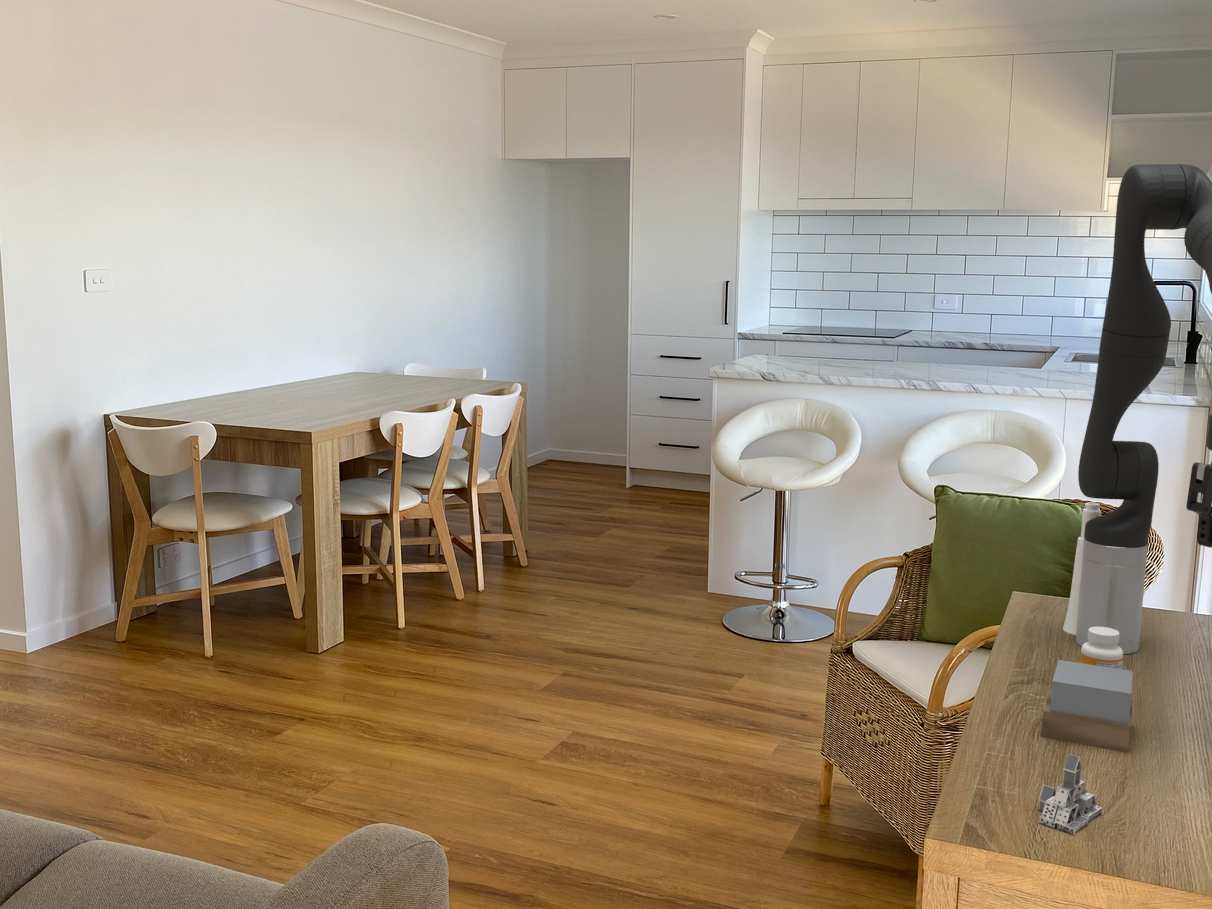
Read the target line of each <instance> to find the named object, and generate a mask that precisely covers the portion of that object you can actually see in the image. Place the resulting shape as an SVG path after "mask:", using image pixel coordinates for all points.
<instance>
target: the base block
mask: <svg viewBox="0 0 1212 909" xmlns="http://www.w3.org/2000/svg"><path fill="white" fill-rule="evenodd" d="M1051 694H1052V685H1051V686H1050V688H1049V690H1048V695H1047V697H1046V701H1045V705H1044V708H1043V712H1042V724H1041V725H1042V726H1041V727H1042V728H1041V737H1044V738H1048V739H1054V740H1060V741H1065V742H1071V743H1074V744H1075V743H1076V744H1081V745H1086V746H1090V747H1091V746H1092V747H1096V748H1102V749H1107V750H1114V751H1117V752H1123V753H1124V752H1125V753H1129V748H1130V738H1131V725H1132V714H1133V701H1134V699H1133V698H1131V703H1130V714H1129V725H1128V724H1122V723H1116V722H1110V721H1104V720H1098V719H1092V718H1086V717H1081V716H1075V715H1069V714H1063V713H1057V712H1051V711H1050V707H1051Z"/></svg>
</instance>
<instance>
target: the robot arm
mask: <svg viewBox="0 0 1212 909" xmlns="http://www.w3.org/2000/svg"><path fill="white" fill-rule="evenodd" d="M1118 188H1119V189H1118V193H1117V201H1116V211H1115V225H1114V226H1115V227H1114V239H1113V256H1112V266H1111V273H1110V274H1111V276H1110V282H1109V289H1108V294H1107V299H1106V300H1107V301H1106V306H1105V312H1104V317H1103V322H1102V329H1101V334H1100V335H1101V336H1100V342H1099V349H1098V358H1097V359H1098V360H1097V368H1096V376H1095V383H1094V391H1093V397H1092V403H1091V408H1090V413H1089V415H1088V421H1087V425H1086V429H1085V433H1084V438H1083V443H1082V446H1081V447H1082V448H1081V451H1080V458H1079V464H1078V471H1077V472H1078V474H1077V475H1078V477H1077V479H1078V486H1079V489H1080V490H1079V491H1080V492H1081V493H1082V494H1083V496H1085V497H1087V498H1091V499H1096V500H1097V499H1098V500H1122V503H1121V504H1120V505H1119V506H1118V507H1117V508H1115V509H1114V510H1112V511H1110V512H1109V513H1106V514H1103V515H1101V516H1099V517H1096V518H1093V519H1091V520H1089V521H1088V522H1087V523H1086V525H1085V532H1084V545H1083V559H1082V571H1081V582H1080V590H1079V603H1078V616H1077V628H1076V635H1075V642H1076V644H1077V645H1078V646H1080V647H1082V645H1083V644H1084V643H1086V642H1089V640H1088V629H1089V628H1091V627H1107V628H1112V629H1115V630H1117V631H1118V632H1119V643H1118V644H1117V646H1119V647H1120V648H1121V649H1122V651H1123V655H1128V654H1134V653H1136V652H1138V651H1139V650H1140V649H1139V646H1140V636H1141V625H1142V616H1143V615H1142V614H1143V603H1144V593H1145V592H1144V591H1145V581H1146V580H1145V579H1146V569H1147V568H1146V567H1147V559H1148V558H1147V557H1148V546H1149V544H1148V543H1149V536H1150V531H1151V528H1152V523H1153V514H1154V506H1155V498H1156V494H1157V493H1156V492H1157V487H1158V481H1159V480H1158V478H1159V457H1158V456H1159V455H1158V453H1157V450H1156V449H1155V447H1154V445H1153V444H1151V443H1149V442H1148V441H1147V442H1146V441H1139V440H1138V441H1135V440H1134V441H1132V440H1131V441H1129V440H1114V439H1115V438H1114V437H1115V435H1116V431H1117V430H1118V429H1117V428H1118V425H1119V424H1120V422H1121V420H1122V418H1123V417H1124V414H1125V413H1126V411H1127V410H1128V409H1129V408H1130V406H1131V405H1132V404H1133V403H1134V402H1135V400H1137V399H1138V397H1139V396H1140V395H1141V394H1142V393H1143V392H1144V391H1145V390H1146V388H1147V387H1149V385H1151V383H1152V382H1153V381H1154V379H1155V378H1156V377H1157V375H1158V374H1159V372H1161V370H1162V368H1163V367H1164V365H1165V361H1166V357H1167V352H1168V348H1169V347H1168V346H1169V340H1170V334H1171V330H1172V329H1171V328H1172V320H1171V319H1172V318H1171V315H1170V312H1169V308H1168V307H1167V305H1166V302H1165V300H1164V298H1163V296H1162V294H1161V292H1160V291H1159V289H1158V287H1157V285H1156V283H1155V282H1154V279H1153V277H1152V275H1151V273H1150V270H1149V267H1148V263H1147V260H1146V254H1145V253H1146V251H1145V236H1146V232H1147V230H1148V231H1149V230H1155V231H1156V230H1157V231H1159V230H1160V231H1161V230H1165V231H1167V230H1168V231H1169V230H1170V231H1171V230H1172V231H1174V230H1180V229H1185V230H1184V237H1183V238H1184V239H1183V240H1184V247H1185V249H1186V252H1187V253H1188V255H1189V257H1191V259H1192V260H1193V261H1194V262H1195V263H1196V264H1197V265H1198V266H1200V268H1201V269H1203V270H1204V271H1205V274H1206V279H1207V280H1208V286H1209V291H1210V295H1212V180H1211V179H1210V177H1209V176H1208V175H1207V174H1206V173H1205V172H1204V171H1203V170H1202V169H1201V168H1199V167H1197V166H1196V165H1193V164H1187V163H1186V164H1184V163H1183V164H1182V163H1180V164H1179V163H1175V164H1174V163H1168V164H1167V163H1166V164H1164V163H1163V164H1162V163H1161V164H1160V163H1159V164H1158V163H1157V164H1156V163H1155V164H1153V163H1151V164H1150V163H1149V164H1145V163H1144V164H1143V163H1142V164H1139V163H1138V164H1133V165H1131V166H1130V167H1129V168H1127V170H1126V171H1125V173H1124V174H1123V177H1122V178H1121V181H1120V185H1119V187H1118ZM1208 415H1209V417H1208V424H1207V431H1206V432H1207V433H1206V442H1205V444H1206V448H1207V449H1208V450H1210V451H1212V394H1211V395H1210V406H1209V414H1208ZM1189 479H1190V480H1189V486H1188V492H1187V500H1186V510H1187V511H1190V512H1194V513H1196V514H1197V515H1198V524H1197V534H1196V542H1197V544H1198V545H1199V546H1203V547H1207V548H1209V549H1210V548H1212V461H1211V462H1210V463H1209V464H1208V463H1203V462H1193V464H1192V466H1191V471H1190V478H1189ZM1199 494H1201V495H1202V497H1201V499H1200V500H1199V501H1198V499H1199V498H1198V497H1199Z"/></svg>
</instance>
